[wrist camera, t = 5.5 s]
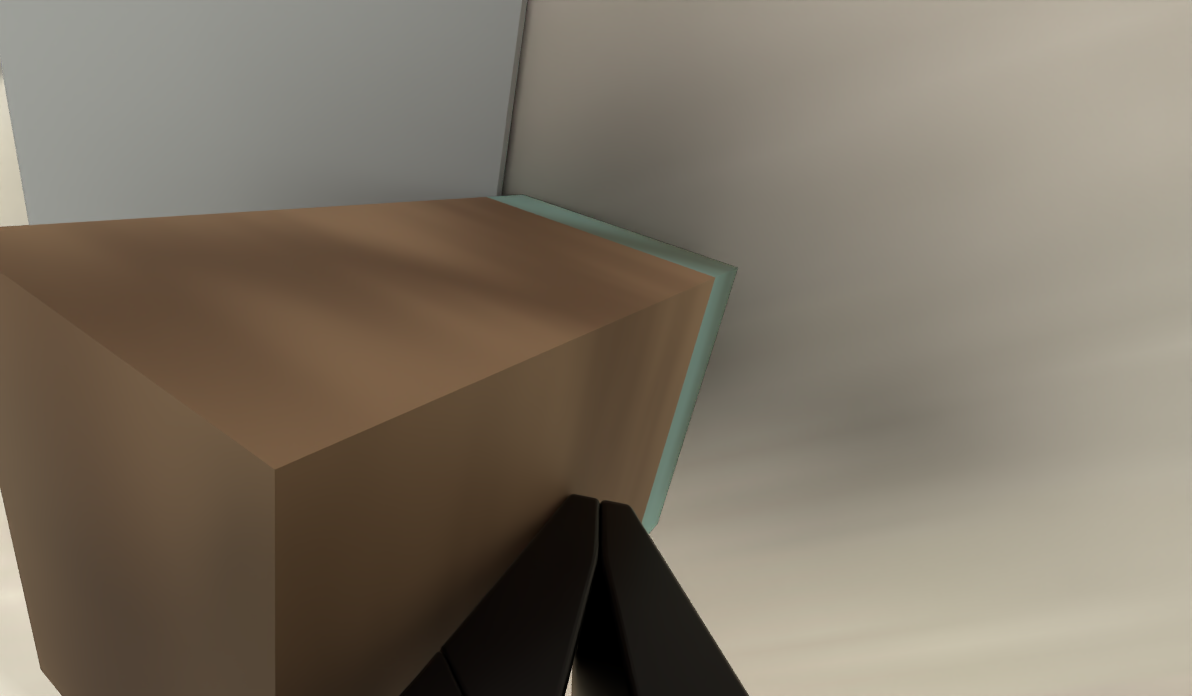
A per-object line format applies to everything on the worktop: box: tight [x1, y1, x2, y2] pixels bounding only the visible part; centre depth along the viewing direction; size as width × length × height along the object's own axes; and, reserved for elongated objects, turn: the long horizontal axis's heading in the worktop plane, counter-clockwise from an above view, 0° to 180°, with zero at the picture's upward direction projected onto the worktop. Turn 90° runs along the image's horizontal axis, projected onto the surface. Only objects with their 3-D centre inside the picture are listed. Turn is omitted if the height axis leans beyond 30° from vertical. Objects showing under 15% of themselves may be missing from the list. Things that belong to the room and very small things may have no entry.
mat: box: [0, 0, 527, 225], centre depth 14 cm, size 10×14×1 cm
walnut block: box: [0, 195, 738, 696], centre depth 10 cm, size 5×6×9 cm
